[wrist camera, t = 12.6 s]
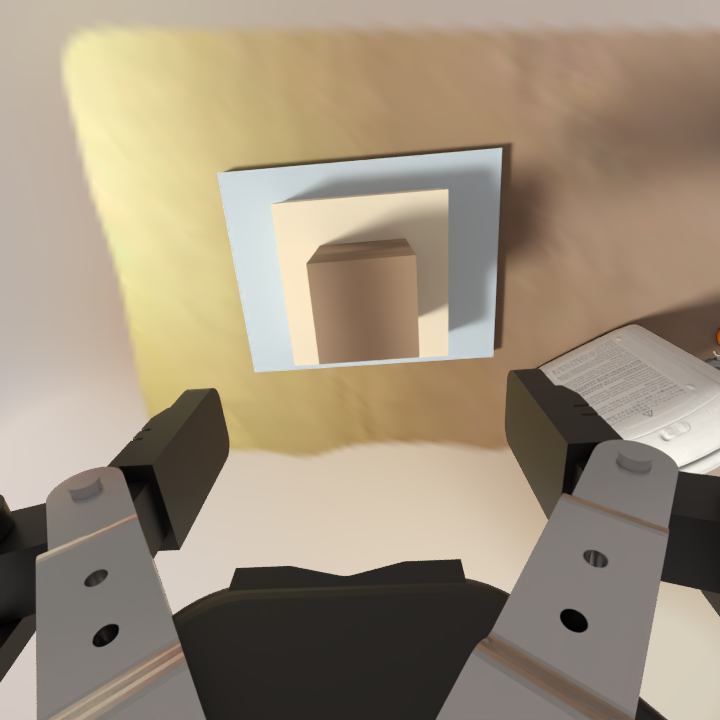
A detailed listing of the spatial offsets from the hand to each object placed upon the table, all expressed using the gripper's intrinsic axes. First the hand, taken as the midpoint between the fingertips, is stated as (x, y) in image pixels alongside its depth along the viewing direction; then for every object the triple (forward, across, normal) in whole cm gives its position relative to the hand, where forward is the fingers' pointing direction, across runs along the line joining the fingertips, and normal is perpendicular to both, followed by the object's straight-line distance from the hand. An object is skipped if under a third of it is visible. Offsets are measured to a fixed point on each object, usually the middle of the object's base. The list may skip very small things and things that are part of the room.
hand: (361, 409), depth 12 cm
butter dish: (+20, 0, 0) cm, 20 cm away
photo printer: (+21, -16, +9) cm, 28 cm away
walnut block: (+15, 0, 0) cm, 15 cm away
